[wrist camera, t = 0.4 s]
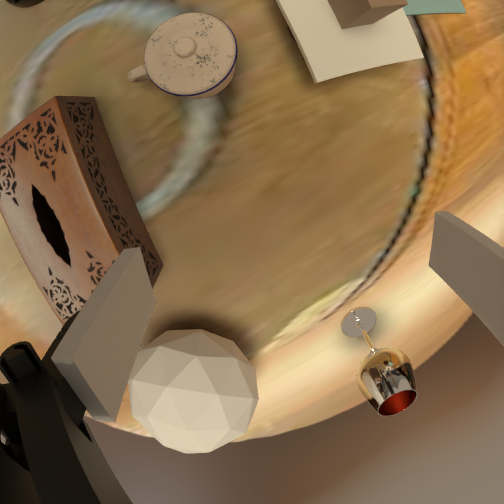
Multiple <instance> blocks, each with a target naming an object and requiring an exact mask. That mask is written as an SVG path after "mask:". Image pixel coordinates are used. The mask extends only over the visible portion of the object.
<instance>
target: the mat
mask: <svg viewBox="0 0 504 504" xmlns="http://www.w3.org/2000/svg"><path fill="white" fill-rule="evenodd" d="M407 2H408V5H406V6H404V7H402V8H403V10H404V12H405V14H406V16H409V15H422V14H442V13H466V11H465V9H464V6H463V4H462V2H461V0H407Z"/></svg>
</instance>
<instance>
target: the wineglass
mask: <svg viewBox="0 0 504 504" xmlns="http://www.w3.org/2000/svg"><path fill="white" fill-rule="evenodd" d="M375 322H376V314H375V312H374V311H373V310H372V309H370V308H367V307H360V308H356V309H354V310H352V311H351V312H349V313H348V314H347V315H346V316H345V317H344V319H343V321H342V324H341V329H342V331H343V333H344V334H345V335H346V336H349V337H359V336H362V335H363V336H364V338H365V340H366V342H367V345H368V347H369V349H370V353H369V354H368V355H367V356H366V357H365V359H364V360H363V361H362V363H361V365H360V367H359V369H358V373H357V384H358V387H359V389H360V391H361V393H362V394H363V395H364V397H365V398H366V399H367V401H368V402H369V403H370V404H371V406H373V408H374V409H375V410H376V411H377V413H378V414H379V415H381V416H392V415H395V414H398V413H400V412H402V411H403V410H405V409H407V408H408V407H409V406H410V405H411V404H412V403H413V402H414V401H415V399H416V397H417V389H416V383H415V377H414V373H413V368H412V365H411V362H410V360H409V358H408V356H407V355H406V354H405V353H403V352H402V351H400V350H398V349H395V348H380V349H376V348H375V347H374V345H373V343H372V342H371V340H370V338H369V336H368V334H367V333H368V332H369V331H370V330H371V329H372V328H373V326H374V325H375Z"/></svg>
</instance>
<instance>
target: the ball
mask: <svg viewBox="0 0 504 504" xmlns="http://www.w3.org/2000/svg"><path fill="white" fill-rule="evenodd" d="M128 385H129V394H130V403H131V411H132V416H133V417H134V418H135V419H136V420H137V421H138V422H139V423H140V424H141V425H142V426H143V427H144V428H145V429H146V430H147V431H148V432H149V433H150V434H151V435H152V436H154V437H155V438H156V439H157V440H158V441H159V442H160V443H161V444H162V445H163V446H166V447H169V448H172V449H174V450H178V451H180V452H184V453H205V452H211V451H212V450H214V449H216V448H218V447H220V446H222V445H224V444H226V443H228V442H230V441H232V440H234V439H236V438H237V437H239V436H241V435H243V434H245V433H246V431H247V429H248V426H249V424H250V421H251V419H252V416H253V413H254V411H255V408H256V405H257V403H258V400H259V397H258V389H257V381H256V372H255V368H254V367H253V366H252V365H251V363H250V362H249V361H248V360H247V358H246V357H245V356H244V354H243V353H242V352H241V351H240V349H239V348H238V347H237V345H236V344H235V343H234V342H233V341H232V340H229V339H226V338H224V337H221V336H218V335H216V334H213V333H210V332H208V331H205V330H202V329H191V330H168V331H166V332H164V333H163V334H161V335H160V336H159V337H157V338H156V339H154V340H153V341H152V342H150V343H149V344H147V345H146V346H145V347H143V348H142V349H140V350H139V351H138V354H137V356H136V359H135V362H134V365H133V368H132V371H131V374H130V377H129V380H128Z"/></svg>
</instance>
